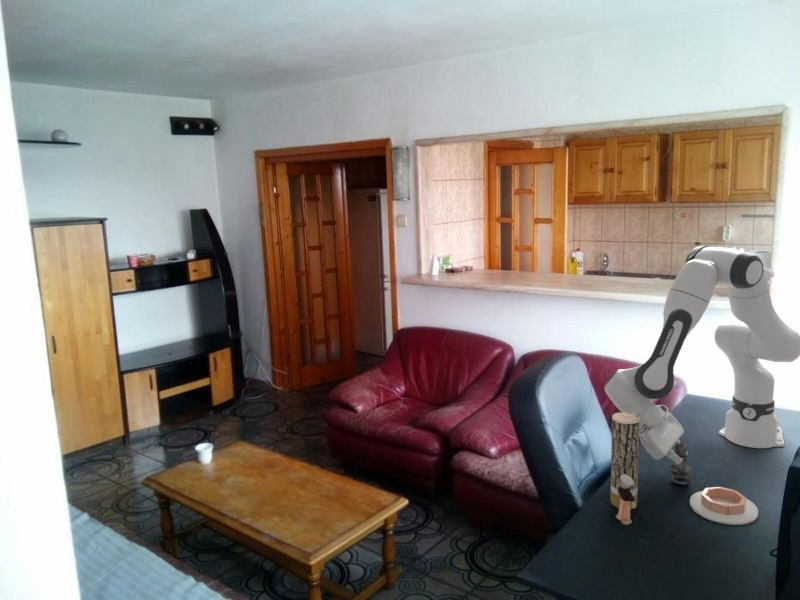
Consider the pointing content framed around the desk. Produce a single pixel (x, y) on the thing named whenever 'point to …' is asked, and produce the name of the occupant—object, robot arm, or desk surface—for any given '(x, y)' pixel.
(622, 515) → the grandmother figurine
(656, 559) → the desk surface
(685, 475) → the grey chess piece
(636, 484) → the wooden cylinder
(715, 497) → the saucer
